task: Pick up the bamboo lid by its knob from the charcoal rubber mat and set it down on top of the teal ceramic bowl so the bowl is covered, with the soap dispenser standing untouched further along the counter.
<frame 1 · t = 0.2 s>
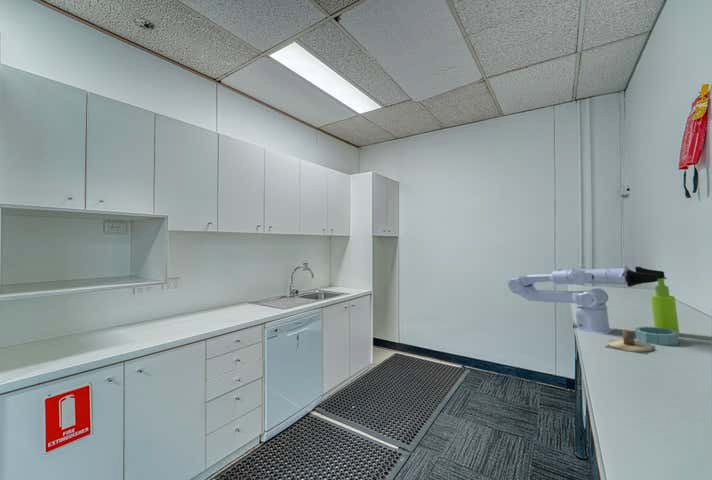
hand: (660, 276, 100), 21 cm above the countertop, tool horizontal, fingers open, 7 cm apart
lid: (629, 346, 96), resting on mat
mat: (629, 347, 96), on the countertop
soap dispenser: (665, 334, 106), on the countertop
bowl: (657, 341, 99), on the countertop
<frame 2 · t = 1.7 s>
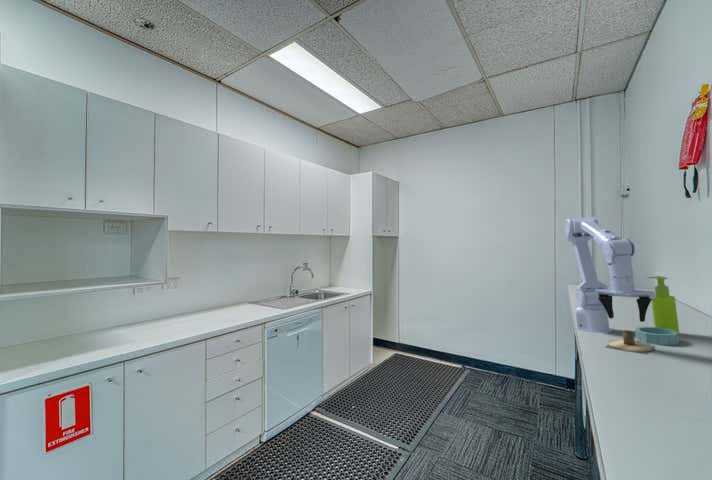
hand: (626, 319, 96), 9 cm above the countertop, tool pointing down, fingers open, 7 cm apart
nothing on the countertop moved.
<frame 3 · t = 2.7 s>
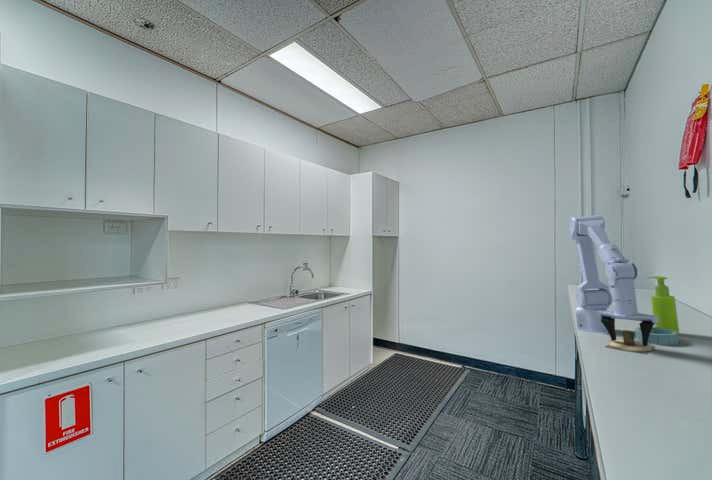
hand: (629, 342, 96), 2 cm above the countertop, tool pointing down, fingers open, 7 cm apart
nothing on the countertop moved.
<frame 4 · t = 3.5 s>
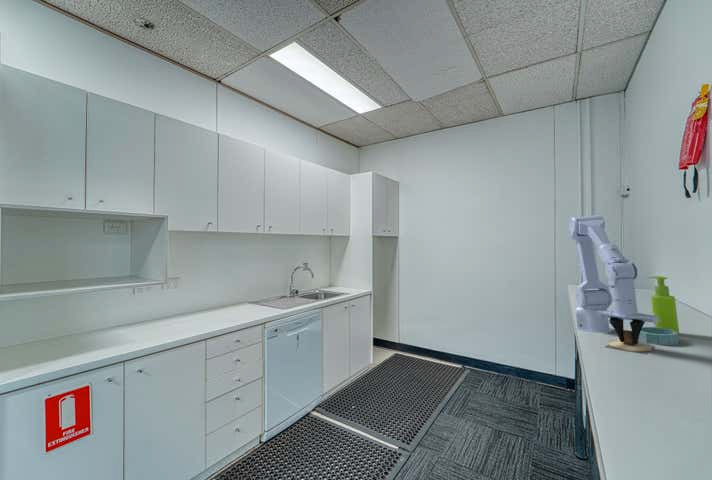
hand: (629, 342, 96), 2 cm above the countertop, tool pointing down, fingers closed on lid, 3 cm apart
lid: (629, 346, 96), resting on mat, touching gripper
everything else where it was.
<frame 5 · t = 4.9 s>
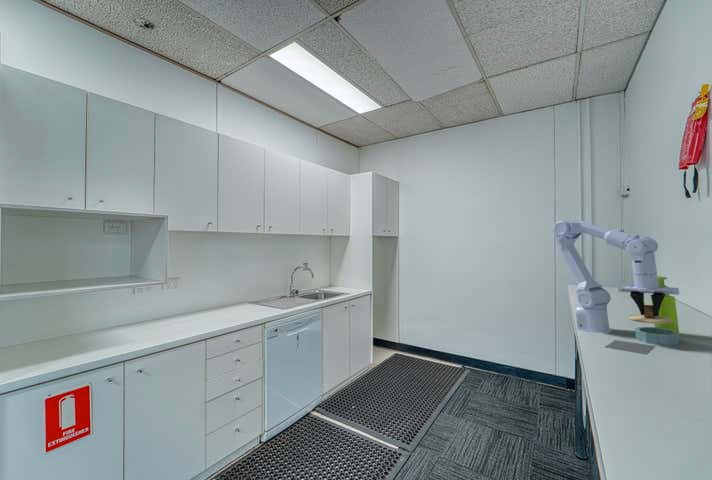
hand: (649, 315, 99), 9 cm above the countertop, tool pointing down, fingers closed on lid, 3 cm apart
lid: (650, 320, 99), point 7 cm above the countertop, touching gripper
everything else where it was.
when the fingers open (6 cm above the countertop, at t = 6.3 s): lid stays where it is, resting on bowl.
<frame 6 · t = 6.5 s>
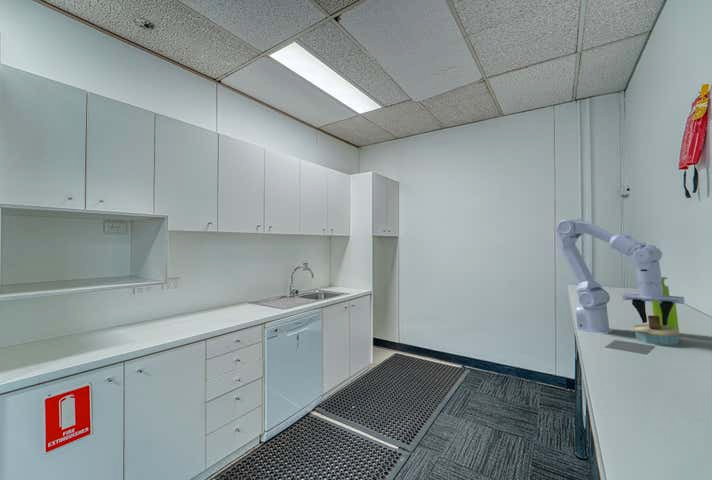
hand: (654, 323, 100), 6 cm above the countertop, tool pointing down, fingers open, 4 cm apart
lid: (655, 331, 99), point 3 cm above the countertop, touching bowl
everything else where it was.
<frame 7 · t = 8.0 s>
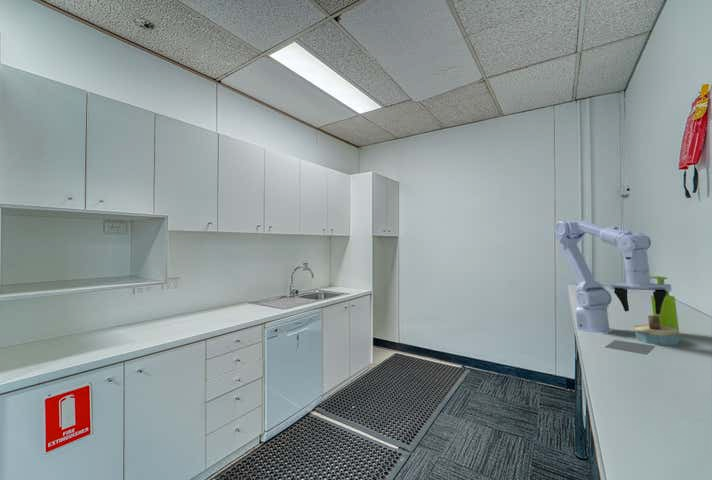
hand: (642, 312, 98), 10 cm above the countertop, tool pointing down, fingers open, 7 cm apart
nothing on the countertop moved.
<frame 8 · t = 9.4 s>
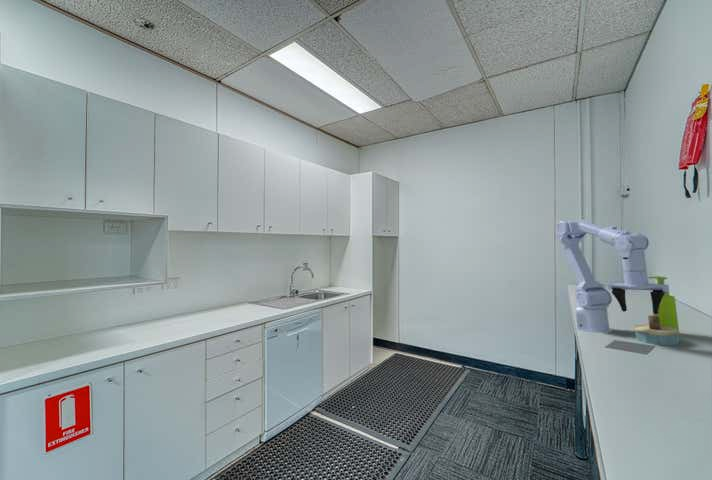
hand: (639, 312, 98), 10 cm above the countertop, tool pointing down, fingers open, 7 cm apart
nothing on the countertop moved.
at the end: lid 0.4 cm off-centre on the bowl, point 3.5 cm above the bowl's base; lid tilted 0°; the gripper is holding nothing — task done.
